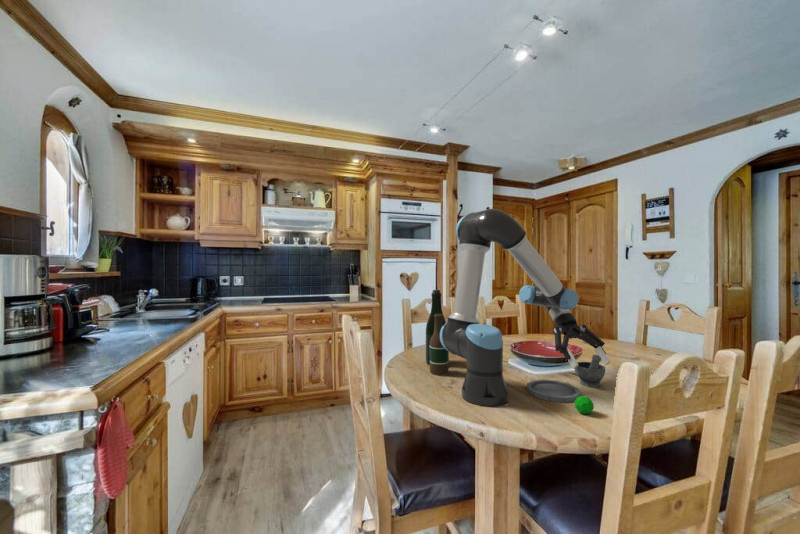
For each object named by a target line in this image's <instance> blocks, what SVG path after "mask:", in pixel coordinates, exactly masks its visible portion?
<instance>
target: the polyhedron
mask: <svg viewBox="0 0 800 534" xmlns="http://www.w3.org/2000/svg"><path fill="white" fill-rule="evenodd" d="M574 407H575V409H576V410H577V412H579V413H580V414H582V415H588V414H591V413H592V411H594V408H595V405H594V402H593V401H592V399H591V398H590V397H588V396H585V395H581V396H580V397H577V399H576V400H575V401H574Z"/></svg>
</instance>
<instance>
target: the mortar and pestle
mask: <svg viewBox="0 0 800 534" xmlns="http://www.w3.org/2000/svg"><path fill="white" fill-rule="evenodd" d="M600 362H602V361H601V357H600V356H598V354H593V355H592V357H591V361H577V363H578V366H577V367H576V368H575V369H574V372H575V375H576V376H577V377H578V378H579V379H580V381H579V383H580V385H581V386H583V387H587V388H593V389H595V388H600V382H601V381H602V380H603V378H604V377H605V376H606V375H605V374H606V366H605V365H602V364H600Z"/></svg>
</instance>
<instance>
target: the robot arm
mask: <svg viewBox="0 0 800 534" xmlns="http://www.w3.org/2000/svg"><path fill="white" fill-rule="evenodd" d="M455 226H456V227H455V235H456V237H457V240H458V241H459V244H458V247H459V248H460V249H461V256H460V263H459V270H458V274H457V275H458V277H457V283H456V289H455V295H454V304H453V310H452V313H451V314H450V315H448V317H447V320H446V323H445V325H444V326H442V328H441V331H440V341H441V344H442V346H443V347H444V348H445V349H446V350H447V351H449V354H452V355H454V356H458V357H461V358H463V359H464V360H466V375H465V378H464V381H463V384H462V387H461V397H462V399H464V400H465V401H466V402H469V403H471V404H473V405H478V406H482V407H483V406H484V407H485V406H486V407H494V406H501V405H505V404H506V403H507V402H509V390H508V387H507V383H506V381H505V377H504V375H503V369H504V365H503V363H504V360H503V359H504V355H503V353H504V341H503V333H502V331H501V330H500V329H499V328H498V327H495V326H493V325H490V324H485V323H480V320H479V319H478V318H477V313H478V311H477V310H478V304H479V298H480V291H481V285H482V278H483V277H482V276H483V270H484V265H485V256H486V253H488V252H489V251H490V250H491V245H492V242H493V243H496V244H497V245H499V247H501V249H502V250H503V251H504V250H505V251H506V250H507V251H508V252H509V254H510V255H511V256H512V258H513V259H514V260H515V261H516V262H517V264H518V265H519V266H520V267H521V269H523V271H524V272H525V274H527V276H528V278H530V279H531V280H532V282H533V283H534V285H536V286H533V285H528V284H527V285H524V286H522V287H521V288H520V290H519V293H518V297H519V300H520V301H521V302H522V303H523V304H526V305H534V306H539V307H545V309H546V310H547V311H548V313H549V316H550V317H551V319H552V321H553V322H554V324H555V325H556V327H554V329H553V330H552V332H553V334H554V344H555V345H554V347H555V351H556V352H559V354H563V357H564V358H565V360H568V363H569V365H570V366H571V368H572V369H574V370H575V368H576V367H577V366H578V363H577V362H578V361H577V360H576V357H575V356H574V354H573V353H572V351H571V349H570V348H568V347H569V341H570V339H578V340H582V341H583V342H585V343H587V344H588V345H589V346H591V347H592V348H593V349H595V350H594V351H595V353H596V355H598V356H600V357H601V361H600V362H601V363H602V364H603V366H604V367H606V366H608V365H609V364H610V363H611V361H610V359H609V357H608V356H607V353H606V351H605V349H604V348H603V347H604V345H606V343H605V341H603V340H602V339H601V338H600V337H599V336H597V335H596V334H595V333H594V332H592V331H591V330H590V329H589V328H588V327H587V325H585V324H583V325H582V326H580V325H578V323H577V322H578V321H577V319H576V318H575V316H574V314H573V313H572V310H573V309H575V308H576V307H577V305H578V303H579V295H578V293H577V292H576V291H575V290H574V289H572V288H571V289H570V288H566V287H565V286H564V285H563V283H562V282H561V281H560V280H559V278H558V276H557V275H556V274H555V273H554V272H553V270H552V268H551V267H550V266H549V265H548V263H547V262H546V261H545V260H544V259H543V257H542V256H541V255H540V253H539V252H538V251H537V249H535V247H534V246H533V245H532V243H531V242H530V240H529V239H528V238H527V232H526V231H525V229H524V228H523V226H522V225H521V224H520V223H519V221H517V220H516V219H515V218H514V217H513V216H511V215H510V214H508V213H507V212H505V211H503V210H501V209H497V208H488V209H485V210H480V211H476V212H475V211H474V212H470V213H468V214H465V215H463V216H462V217H460V219H459V220H458V222H457V224H456V225H455ZM562 334H563V337H562Z"/></svg>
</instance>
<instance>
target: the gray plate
mask: <svg viewBox="0 0 800 534" xmlns="http://www.w3.org/2000/svg"><path fill="white" fill-rule="evenodd" d="M526 388H527V389H526V391H527V393H528V394H530V395H532V396H533V397H535V398H538V399H541V400H544V401H547V402H555V403H572V402H574V403H575V400H576V399H577V397H580V396H582V392H581V390H580V389H579V388H578V387H576V386H574V385H573V384H570V383H568V382H564V381H560V380H555V379H554V380H553V379H534V380H531V381H529V382H527V383H526Z"/></svg>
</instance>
